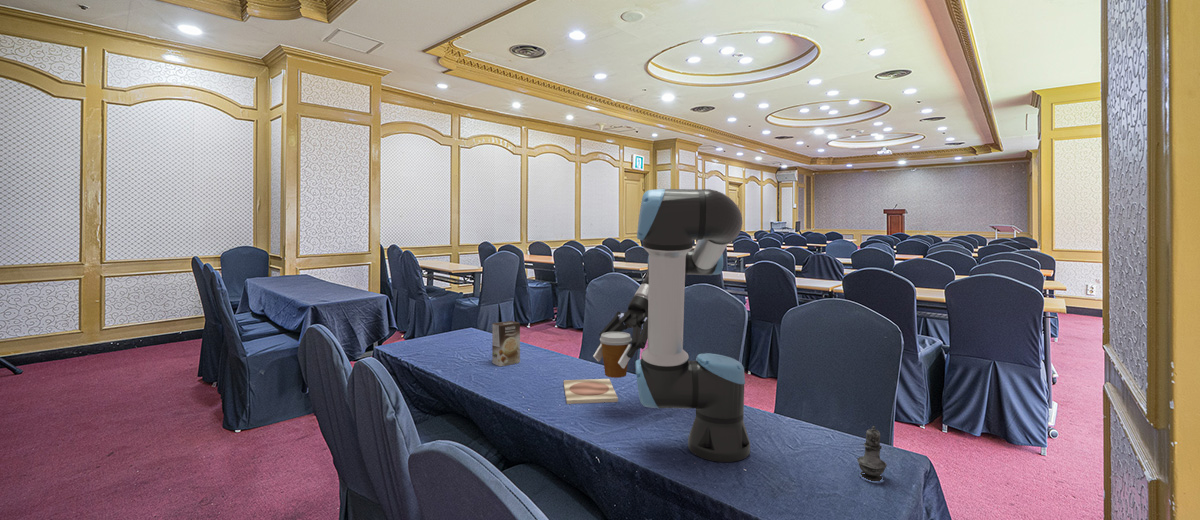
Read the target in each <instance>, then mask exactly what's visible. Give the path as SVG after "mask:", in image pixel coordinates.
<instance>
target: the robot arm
mask: <svg viewBox="0 0 1200 520" xmlns="http://www.w3.org/2000/svg"><path fill="white" fill-rule="evenodd" d="M742 216H743V215H742V212H741V210H740V208H739V207H738V204H736V202H735V201H734V200H733V199H731V198H730V196H727V195H726V194H725V193H723V192H720V191H718V190H715V189H710V188H703V189H700V188H698V189H697V188H696V189H694V188H693V189H688V188H679V189H678V188H660V189H659V188H658V189H657V188H656V189H648V190H646V191H645V192H644V193H643V195H642V198H641V202H640V209H639V215H638V223H637V231H636V232H637V233H636V238H637V240H639V241H642V248H643V249H644V250H645V252H647V253H648V256H647V268H646V269H647V271H646V275H645V277H644V279H643V280H642V283H641V284H640V286H639V287H638V288H637V290H636V292H635V293H634V295H633V296H632V298H631V300H630V301H629V303H628V307H627V310H626V311H625V312H624V313H623V312H621V311H616V312H615V315H614V317H613V318H612V319H611V320H610V321H609V322H608V324H606V326H605V327H604V328H603V329H602V330H601V332H600V333H598V334H599V336H600V338H601V334H603V333H606V332H624V331H626V330H627V329H631V328H632V334H631V335H632V336H631V338H632V341H631V342H630V344H629V345H628V346H627V348H626V350H625V351H624V353H623V355H622V356H621V358H620V360H619V361H618V364H619V365H620V366H621V367H622V368H625V366H626V365H627V363H628V364H629V361H630V359H632V358H633V357H634V356H635V354H636V352H637V351H638V350H640V349H641V350H643V351H642V352H641V358H638V359H637V360H635V374H636V382H637V383H636V384H637V391H638V392H637V393H638V398H639V402H640V404H641V405H642V406H643V407H646V408H652V409H653V408H656V409H657V410H659V409H688V410H689V409H693V410H694V409H695V417H694V421H693V423H692V427H691V429H690V432H689V435H688V439H687V447H688V448H687V449H688V450H689V451H690V452H691V453H692V454H693V455H695V456H696V457H698V458H701V459H704V460H706V461H713V462H717V463H718V462H719V463H732V462H739V461H742V460H745V459H746V458H747V457H749V455H750V454H751V453H750V452H751V442H750V441H751V440H750V438H749V435H748V433H747V432H748V431H747V428H746V425H745V422H744V416H745V415H744V409H745V408H744V407H745V384H746V377H745V367H744V366H743V364H742V362H740V361H738V360H737V359H735V358H733V357H730V356H727V355H722V354H717V353H711V352H708V353H707V352H704V353H699V354H697V355H696V358H695V360H689V359H690V357H689V354H688V352H686V350H684V349H683V347H684V320H685V319H684V317H685V315H684V314H685V284H686V275H687V276H688V275H690V276H691V275H692V276H693V275H697V276H698V275H699V276H713V275H714V276H715V275H721V274H722V272H723V268H724V254H723V253H724V252H725V250H726V248H727V246H728V245H729V244H731V243H733V242H734V241H735V240H736V239H737V237H738V236H739V234H740V232H741V230H742V227H743V217H742ZM693 241H696V244H695V245H694V246H695V247H693V244H694V243H693ZM646 345H647V347H646ZM592 357H593V358H594V359H595V360H596V361H597V362H598V363H599V362H601V360H602V359H603V354H602V345H601V342H599V343H598V345H597V349H596V350H595V353H594V354H593V356H592ZM627 366H628V365H627Z"/></svg>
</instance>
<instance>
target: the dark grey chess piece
mask: <svg viewBox="0 0 1200 520" xmlns="http://www.w3.org/2000/svg"><path fill="white" fill-rule="evenodd" d="M865 433H866V434H865V442H864V443H863V446H864V455H862V456H859V457H858V458H857V463H858V466H859V468H860V470H861V471H860V472H861V473H860V474H861V475H862V477H864V478H866V479H868V480H871V481H880V480H881V479H882V477H883V476H882V474H883V473H884V472H885V470H886V468H887V465H888V464H887V463H886V462H885V461H884V460H882V459H881V455H880V454H881V449H882V448H883V447H882V445H881V433H880V431H879V430H878V429H876V426H875V425H872V426H871V428H869V429H867V430H866V432H865ZM862 473H865V474H862ZM880 475H881V476H880Z"/></svg>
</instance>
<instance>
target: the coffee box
mask: <svg viewBox="0 0 1200 520" xmlns="http://www.w3.org/2000/svg"><path fill="white" fill-rule="evenodd" d="M491 330H492V339H491V340H492V343H491V344H492V348H491V349H492V352H491V353H492V355H491V356H492V358H491V361H492V365H494V366H495V365H496V366H497V367H505V366H510V365H516V364H519V362H520V363H521V322H518V321H515V320H514V321H513V320H508V321H500V322H499V321H498V322H492V329H491ZM515 363H516V364H515Z"/></svg>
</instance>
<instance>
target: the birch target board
mask: <svg viewBox="0 0 1200 520" xmlns="http://www.w3.org/2000/svg"><path fill="white" fill-rule="evenodd" d="M563 389H564V394H565V402H566V404H567V405H574V404H576V405H577V404H596V403H597V404H599V403H600V404H601V403H604V402H605V403H618V402H619V397H618V395H617V393H616V391H615V389H614V386H613V384H612V382H611V379H610V378H600V379H599V378H594V379H593V378H592V379H587V378H586V379H565V380H563Z"/></svg>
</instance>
